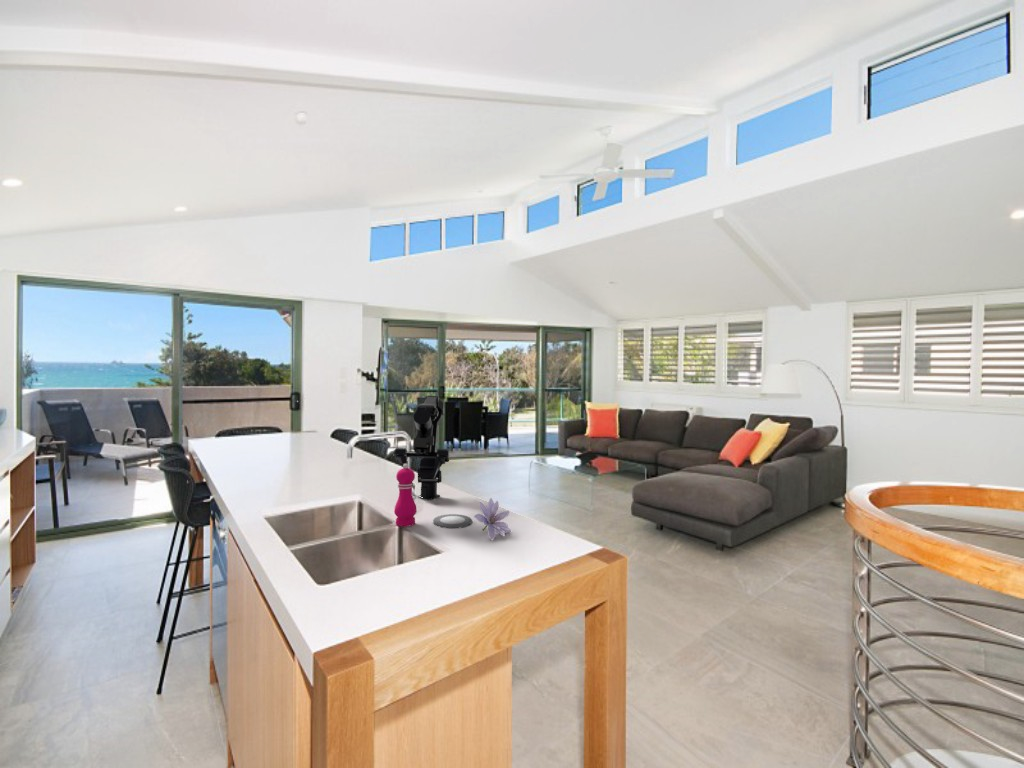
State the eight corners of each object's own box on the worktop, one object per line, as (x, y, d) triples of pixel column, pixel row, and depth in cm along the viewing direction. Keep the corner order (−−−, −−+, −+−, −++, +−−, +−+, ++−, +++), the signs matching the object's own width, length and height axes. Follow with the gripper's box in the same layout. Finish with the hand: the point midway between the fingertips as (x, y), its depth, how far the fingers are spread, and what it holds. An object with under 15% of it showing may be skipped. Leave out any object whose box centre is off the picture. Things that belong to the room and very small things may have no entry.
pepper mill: (408, 519, 171) (409, 460, 170) (420, 523, 165) (421, 463, 165) (390, 523, 165) (390, 463, 165) (401, 528, 160) (402, 466, 160)
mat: (447, 513, 178) (447, 511, 178) (478, 519, 172) (479, 517, 172) (425, 523, 166) (425, 521, 166) (458, 530, 160) (458, 528, 160)
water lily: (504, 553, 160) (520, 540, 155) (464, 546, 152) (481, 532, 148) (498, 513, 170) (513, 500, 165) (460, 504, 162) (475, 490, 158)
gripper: (394, 426, 171) (388, 469, 163) (448, 427, 172) (445, 470, 164) (398, 439, 181) (393, 480, 173) (450, 440, 182) (447, 481, 174)
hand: (419, 478), depth 171 cm, fingers open, 9 cm apart
